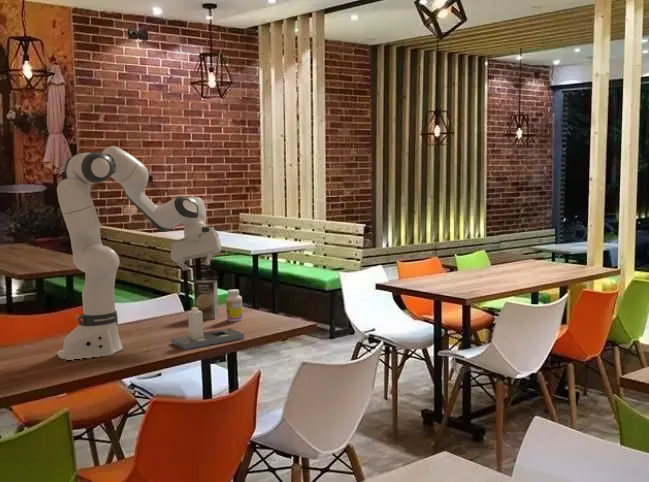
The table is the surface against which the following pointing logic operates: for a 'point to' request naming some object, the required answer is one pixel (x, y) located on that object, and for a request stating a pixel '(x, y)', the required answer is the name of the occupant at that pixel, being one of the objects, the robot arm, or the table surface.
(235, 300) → the supplement bottle
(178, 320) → the table surface
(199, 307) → the coffee box
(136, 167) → the robot arm
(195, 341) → the panel
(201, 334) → the plug
